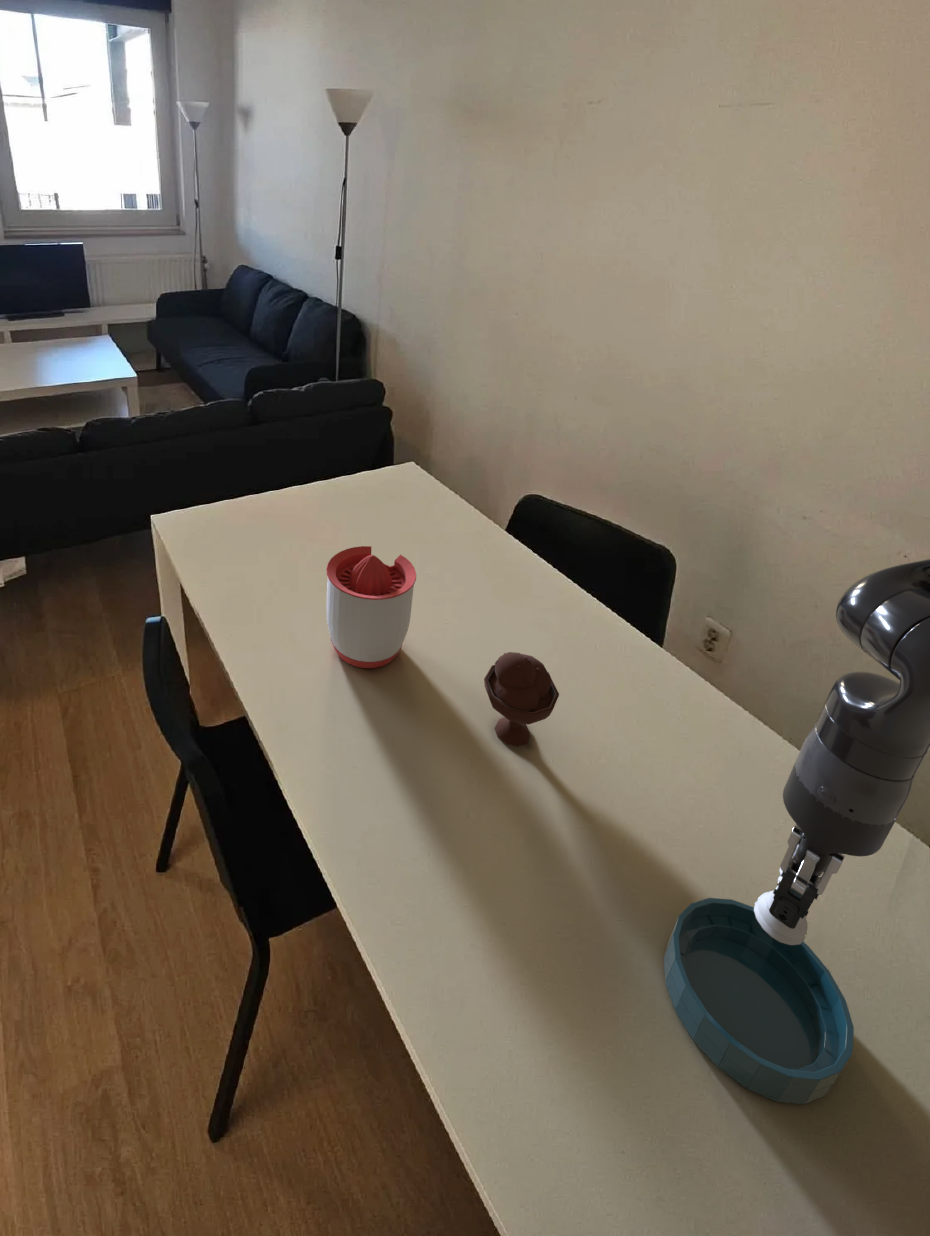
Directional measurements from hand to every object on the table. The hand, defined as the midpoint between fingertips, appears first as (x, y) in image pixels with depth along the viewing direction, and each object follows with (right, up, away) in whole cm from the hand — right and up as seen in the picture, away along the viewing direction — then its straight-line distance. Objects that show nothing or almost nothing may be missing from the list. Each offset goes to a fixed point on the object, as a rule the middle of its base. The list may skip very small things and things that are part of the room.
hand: (788, 904), depth 65 cm
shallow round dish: (-1, -15, +6) cm, 16 cm away
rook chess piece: (0, -3, +1) cm, 3 cm away
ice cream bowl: (-17, 0, +39) cm, 42 cm away
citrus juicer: (-39, +8, +56) cm, 68 cm away
